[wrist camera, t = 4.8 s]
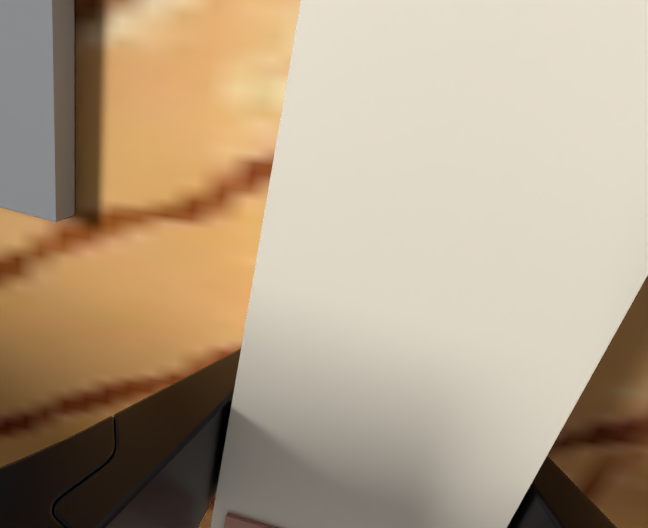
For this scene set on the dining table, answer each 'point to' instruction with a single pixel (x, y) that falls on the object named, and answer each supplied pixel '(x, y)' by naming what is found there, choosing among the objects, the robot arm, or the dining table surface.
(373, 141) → the white block
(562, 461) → the dining table surface
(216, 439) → the robot arm
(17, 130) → the mat
